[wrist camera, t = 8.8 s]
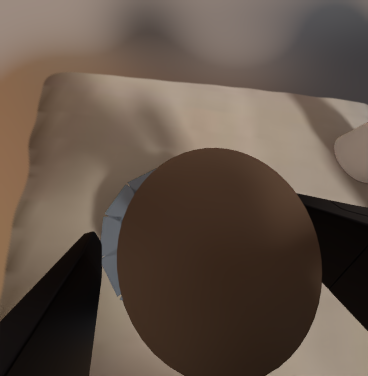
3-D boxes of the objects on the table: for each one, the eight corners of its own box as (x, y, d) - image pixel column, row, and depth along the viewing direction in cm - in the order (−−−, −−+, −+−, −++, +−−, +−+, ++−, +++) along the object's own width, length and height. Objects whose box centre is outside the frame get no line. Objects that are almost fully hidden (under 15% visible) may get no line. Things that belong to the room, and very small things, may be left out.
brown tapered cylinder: (196, 258, 15) (344, 374, 3) (147, 256, 14) (88, 398, 2) (198, 210, 16) (302, 160, 4) (153, 206, 16) (137, 135, 4)
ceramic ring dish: (199, 325, 14) (209, 347, 11) (82, 261, 14) (64, 269, 11) (242, 208, 18) (257, 205, 15) (153, 159, 18) (152, 147, 15)
